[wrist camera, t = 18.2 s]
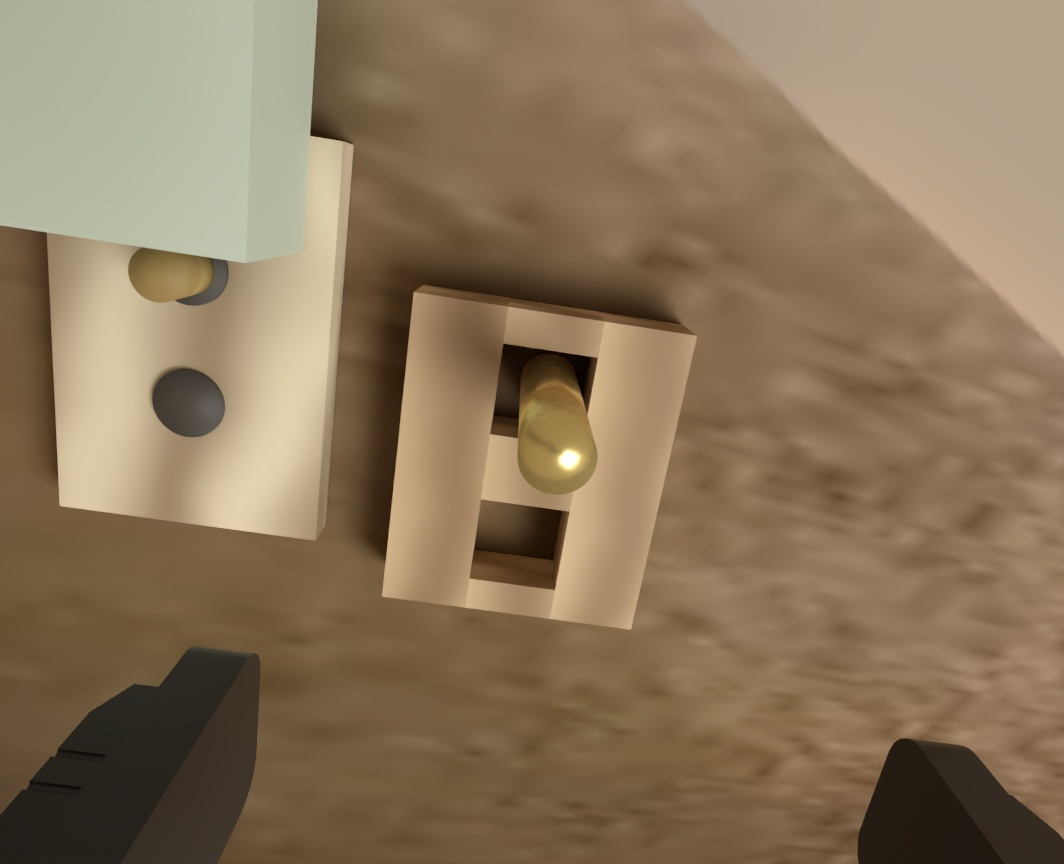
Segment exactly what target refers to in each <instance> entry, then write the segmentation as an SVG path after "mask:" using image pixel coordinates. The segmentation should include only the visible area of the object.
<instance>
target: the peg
mask: <svg viewBox="0 0 1064 864" xmlns="http://www.w3.org/2000/svg"><path fill="white" fill-rule="evenodd" d="M597 459H598V455H597V448H596V444H595V441H594V437H593V434H592V430H591V427H590V423H589V420H588V416H587V413H586V409H585V405H584V402H583V398H582V395H581V391H580V388H579V384H578V381H577V377H576V374H575V371H574V368H573V367H572V365H571V364H570V363H569V362H568V361H567V360H566V359H565V358H563V357H562V356H559V355H557V354H551V353H546V354H541V355H538V356H536V357H534V358H532V359H531V360H530V361H529V362H528V363H527V364H526V365H525V367H524V369H523V371H522V374H521V383H520V406H519V430H518V453H517V460H518V466H519V469H520V472H521V474H522V476H523V477H524V479H525V480H526V481H527V482H528V483H529V484H530V485H531V486H532V487H534V488H535V489H537V490H539V491H541V492H544V493H547V494H553V495H562V494H567V493H571V492H573V491H575V490H577V489H579V488H581V487H582V486H583V485H585V484H586V483H587V482H588V480H589V479H590V478H591V476H592V475H593V473H594V471H595V469H596V465H597Z"/></svg>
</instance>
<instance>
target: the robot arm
mask: <svg viewBox="0 0 1064 864" xmlns="http://www.w3.org/2000/svg"><path fill="white" fill-rule="evenodd" d="M259 685H260V660H259V657H258V655H257V654H256V653H248V652H240V651H233V650H225V649H217V648H209V647H201V646H193V647H191V648H190V649H188V650H187V651H186V653H185V654H184V655H183V656H182V657H181V659H180V660H179V661H178V663H177V664H176V665H175V667H174V668H173V669H172V670H171V672H170V673H169V674H168V676H167V677H166V678H165V680H164V681H163V682H162V683H161V685H160V686H159V687H154V686H146V685H138V684H134V685H132V686H130V687H129V688H127V689H126V690H124V691H123V692H121V693H119V694H118V695H116V696H115V697H113V698H111V699H110V700H108V701H107V702H105V703H103V704H102V705H100V706H99V707H97V708H95V709H94V710H92V711H91V712H89V714H88V715H87V716H86V717H85V718H84V719H83V720H82V722H81V723H80V724H79V725H78V726H77V727H76V729H75V730H74V731H73V732H72V733H71V734H70V735H69V737H68V738H67V739H66V740H65V741H64V742H63V743H62V745H61V746H60V747H59V748H58V751H57V754H56V756H55V757H50V758H49V760H48V761H47V762H46V763H45V764H44V765H43V767H42V768H41V769H40V770H39V771H38V772H37V773H36V775H35V776H34V777H33V778H32V779H31V780H30V784H29V787H28V788H27V790H22V791H21V792H20V793H19V794H18V795H17V796H16V798H15V799H14V800H13V801H12V802H11V803H10V805H9V806H8V807H7V808H6V809H5V810H4V811H3V813H2V814H1V815H0V864H217V863H218V861H219V858H220V856H221V854H222V852H223V850H224V848H225V846H226V844H227V842H228V839H229V837H230V835H231V833H232V831H233V829H234V827H235V825H236V823H237V820H238V818H239V816H240V814H241V812H242V809H243V807H244V804H245V802H246V799H247V796H248V792H249V789H250V785H251V782H252V777H253V773H254V767H255V761H256V748H257V727H258V706H259ZM858 862H859V864H1064V839H1063V838H1062V837H1061V836H1060V835H1059V834H1058V833H1057V832H1056V831H1055V830H1054V829H1053V828H1051V827H1050V826H1049V825H1048V824H1046V823H1045V822H1044V821H1043V820H1041V819H1040V818H1039V817H1038V816H1037V815H1035V814H1034V813H1033V812H1032V811H1030V810H1029V809H1028V808H1027V807H1025V806H1024V805H1023V804H1022V803H1021V802H1019V801H1018V800H1017V799H1016V798H1014V797H1013V796H1012V795H1009V794H1008V793H1007V792H1006V791H1005V790H1004V788H1003V787H1002V786H1001V785H1000V783H999V782H998V781H997V780H996V779H995V777H994V776H993V775H992V774H991V772H990V771H989V770H988V769H987V768H986V766H985V765H984V764H983V763H982V761H981V760H980V759H979V758H978V757H977V755H976V754H975V753H974V752H973V751H971V750H970V749H969V748H967V747H964V746H961V745H954V744H946V743H938V742H930V741H923V740H915V739H907V738H903V739H900V740H897V741H896V742H895V743H894V744H893V746H892V747H891V749H890V751H889V753H888V756H887V758H886V761H885V764H884V767H883V769H882V772H881V775H880V777H879V780H878V783H877V785H876V788H875V791H874V793H873V796H872V799H871V802H870V804H869V807H868V810H867V812H866V815H865V818H864V820H863V823H862V826H861V829H860V832H859V837H858Z"/></svg>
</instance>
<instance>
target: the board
mask: <svg viewBox="0 0 1064 864" xmlns="http://www.w3.org/2000/svg"><path fill="white" fill-rule="evenodd" d="M353 148H354V145H352V144H349V143H347V142H344V141H338V140H332V139H326V138H320V137H314V136H310V146H309V164H308V181H307V199H306V217H305V234H304V252H299V253H294V254H289V255H284V256H279V257H274V258H269V259H264V260H259V261H254V262H249V263H241V262H235V261H228V260H222V259H215V258H209V257H202V256H196V255H189V254H183V253H177V252H170V251H164V250H157V249H151V248H144V247H138V246H131V245H125V244H118V243H112V242H105V241H99V240H93V239H86V238H80V237H73V236H67V235H60V234H54V233H47V249H48V270H49V291H50V312H51V333H52V353H53V374H54V395H55V416H56V437H57V458H58V479H59V500H60V506H65V507H72V508H79V509H87V510H94V511H101V512H109V513H116V514H123V515H131V516H138V517H145V518H153V519H160V520H167V521H175V522H182V523H189V524H197V525H204V526H212V527H219V528H226V529H234V530H241V531H248V532H256V533H263V534H270V535H278V536H285V537H292V538H300V539H307V540H314V541H316V539H317V537H318V536H319V534H320V533H321V531H322V530H323V528H324V526H325V525H326V513H327V500H328V486H329V473H330V459H331V446H332V432H333V418H334V405H335V391H336V378H337V364H338V351H339V337H340V324H341V310H342V297H343V283H344V270H345V256H346V243H347V229H348V216H349V202H350V189H351V175H352V162H353Z"/></svg>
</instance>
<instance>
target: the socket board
mask: <svg viewBox="0 0 1064 864" xmlns="http://www.w3.org/2000/svg"><path fill="white" fill-rule="evenodd" d="M696 338H697V335H695V334H694V333H693V332H691V331H690V330H689V329H687V328H686V327H685V326H684V325H681V324H675V323H669V322H662V321H656V320H649V319H643V318H636V317H630V316H624V315H617V314H611V313H604V312H598V311H591V310H585V309H578V308H572V307H566V306H559V305H553V304H546V303H540V302H533V301H527V300H520V299H514V298H508V297H501V296H495V295H488V294H482V293H475V292H469V291H462V290H456V289H450V288H443V287H437V286H430V285H422V286H421V287H420V288H418V289H417V290H416V291H414V294H413V303H412V313H411V323H410V332H409V342H408V352H407V361H406V371H405V381H404V390H403V400H402V410H401V419H400V429H399V439H398V448H397V458H396V468H395V477H394V487H393V497H392V506H391V516H390V526H389V535H388V545H387V555H386V564H385V574H384V584H383V593H382V597H390V598H397V599H405V600H413V601H420V602H428V603H435V604H443V605H450V606H458V607H465V608H473V609H480V610H488V611H495V612H503V613H510V614H518V615H525V616H533V617H540V618H548V619H556V620H563V621H571V622H578V623H586V624H593V625H601V626H608V627H616V628H623V629H631V627H632V622H633V618H634V614H635V609H636V605H637V600H638V596H639V591H640V587H641V583H642V578H643V574H644V569H645V565H646V560H647V556H648V551H649V547H650V543H651V538H652V534H653V529H654V525H655V520H656V516H657V511H658V507H659V503H660V498H661V494H662V489H663V485H664V480H665V476H666V472H667V467H668V463H669V458H670V454H671V449H672V445H673V440H674V436H675V432H676V427H677V423H678V418H679V414H680V409H681V405H682V400H683V396H684V392H685V387H686V383H687V378H688V374H689V369H690V365H691V360H692V356H693V352H694V347H695V343H696ZM504 344H510V345H517V346H524V347H530V348H537V349H543V350H550V351H557V352H563V353H570V354H576V355H583V356H589V357H590V359H589V365H588V370H587V376H586V381H585V387H584V392H583V402H584V405H585V409H586V413H587V416H588V420H589V423H590V427H591V430H592V434H593V437H594V441H595V444H596V448H597V455H598V459H597V465H596V469H595V471H594V473H593V475H592V476H591V478H590V479H589V480H588V482H587V483H586V484H585V485H583V486H582V487H581V488H579V489H577V490H575V491H573V492H571V493H567V494H562V495H553V494H547V493H544V492H541V491H539V490H537V489H535V488H534V487H532V486H531V485H530V484H529V483H528V482H527V481H526V480H525V479H524V477H523V476H522V474H521V472H520V469H519V466H518V460H517V453H518V430H519V419H515V418H509V417H502V416H495V415H493V414H494V407H495V400H496V393H497V386H498V379H499V372H500V365H501V358H502V352H503V345H504ZM481 499H483V500H490V501H497V502H505V503H512V504H519V505H526V506H533V507H540V508H547V509H554V510H561V511H562V513H561V519H560V524H559V530H558V536H557V541H556V547H555V552H554V558H553V560H548V559H541V558H533V557H526V556H519V555H511V554H504V553H497V552H489V551H482V550H475V549H474V546H475V539H476V532H477V525H478V518H479V511H480V504H481Z"/></svg>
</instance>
